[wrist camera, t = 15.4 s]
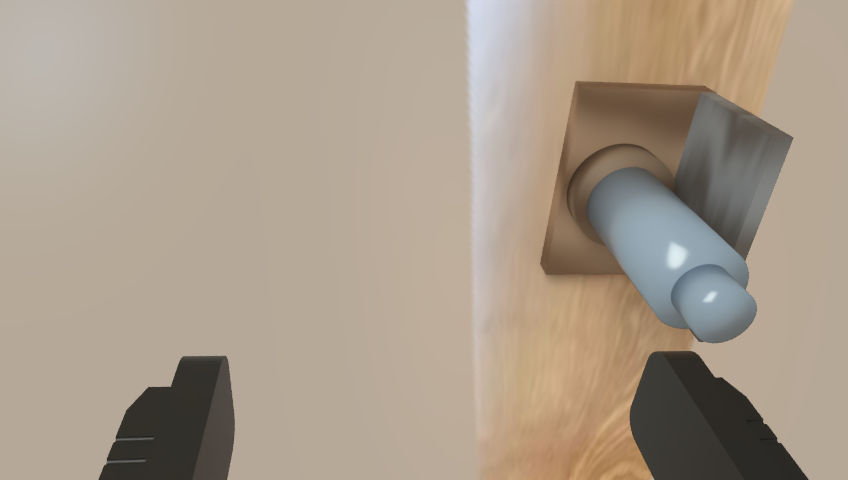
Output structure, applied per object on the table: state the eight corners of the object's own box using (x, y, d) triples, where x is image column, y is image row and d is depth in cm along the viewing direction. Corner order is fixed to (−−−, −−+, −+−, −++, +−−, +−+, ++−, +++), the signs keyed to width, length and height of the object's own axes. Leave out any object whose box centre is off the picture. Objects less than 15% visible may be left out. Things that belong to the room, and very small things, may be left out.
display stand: (575, 81, 40) (636, 133, 32) (704, 86, 41) (795, 137, 33) (540, 263, 47) (582, 344, 39) (651, 263, 48) (714, 341, 40)
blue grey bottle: (595, 166, 39) (690, 274, 28) (671, 167, 40) (792, 273, 29) (579, 237, 42) (661, 359, 31) (651, 236, 42) (755, 357, 32)
